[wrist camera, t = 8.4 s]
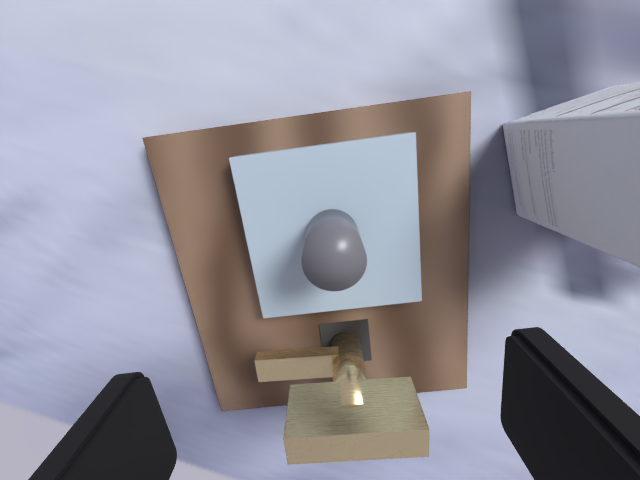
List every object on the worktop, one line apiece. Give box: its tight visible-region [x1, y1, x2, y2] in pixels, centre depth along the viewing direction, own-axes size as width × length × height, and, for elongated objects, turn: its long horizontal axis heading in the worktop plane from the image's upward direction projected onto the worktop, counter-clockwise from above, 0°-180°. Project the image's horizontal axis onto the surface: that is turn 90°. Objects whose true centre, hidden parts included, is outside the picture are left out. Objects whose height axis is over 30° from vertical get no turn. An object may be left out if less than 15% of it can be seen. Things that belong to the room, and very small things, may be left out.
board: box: [143, 91, 471, 411], centre depth 26 cm, size 22×24×2 cm
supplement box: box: [503, 82, 640, 267], centre depth 18 cm, size 7×7×13 cm
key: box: [254, 332, 429, 464], centre depth 22 cm, size 2×11×9 cm, turn 95°
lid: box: [229, 132, 422, 318], centre depth 21 cm, size 12×12×6 cm
